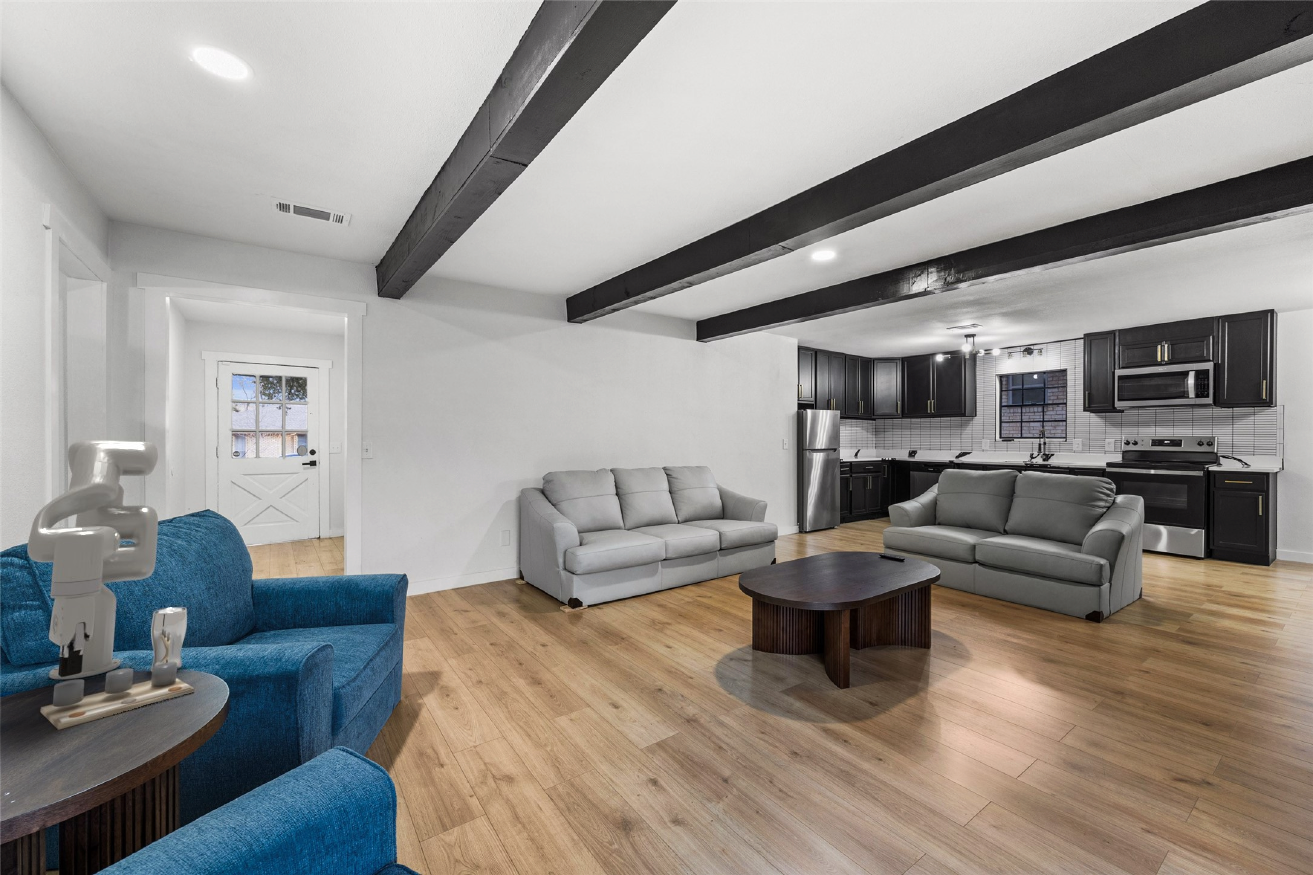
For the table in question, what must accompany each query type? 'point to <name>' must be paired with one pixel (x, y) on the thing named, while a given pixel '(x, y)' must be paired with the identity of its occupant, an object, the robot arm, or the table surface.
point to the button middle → (119, 681)
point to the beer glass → (168, 635)
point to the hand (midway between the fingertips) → (69, 674)
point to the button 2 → (164, 674)
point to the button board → (112, 703)
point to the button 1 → (68, 693)
